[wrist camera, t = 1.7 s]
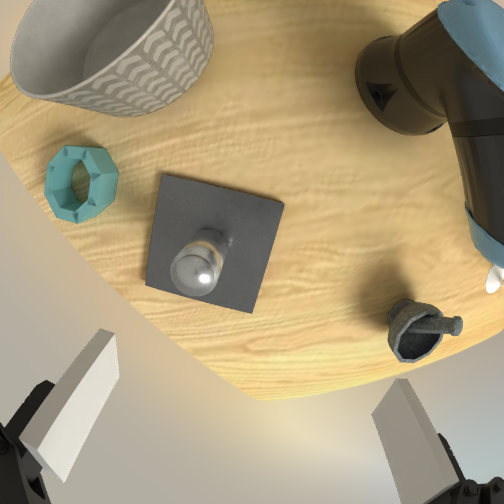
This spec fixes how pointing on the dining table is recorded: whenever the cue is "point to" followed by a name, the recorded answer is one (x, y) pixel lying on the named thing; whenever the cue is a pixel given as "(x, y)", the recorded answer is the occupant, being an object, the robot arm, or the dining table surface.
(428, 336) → the mortar and pestle
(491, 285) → the champagne flute
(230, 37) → the dining table surface
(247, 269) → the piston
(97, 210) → the ring
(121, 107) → the planter
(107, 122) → the dining table surface
